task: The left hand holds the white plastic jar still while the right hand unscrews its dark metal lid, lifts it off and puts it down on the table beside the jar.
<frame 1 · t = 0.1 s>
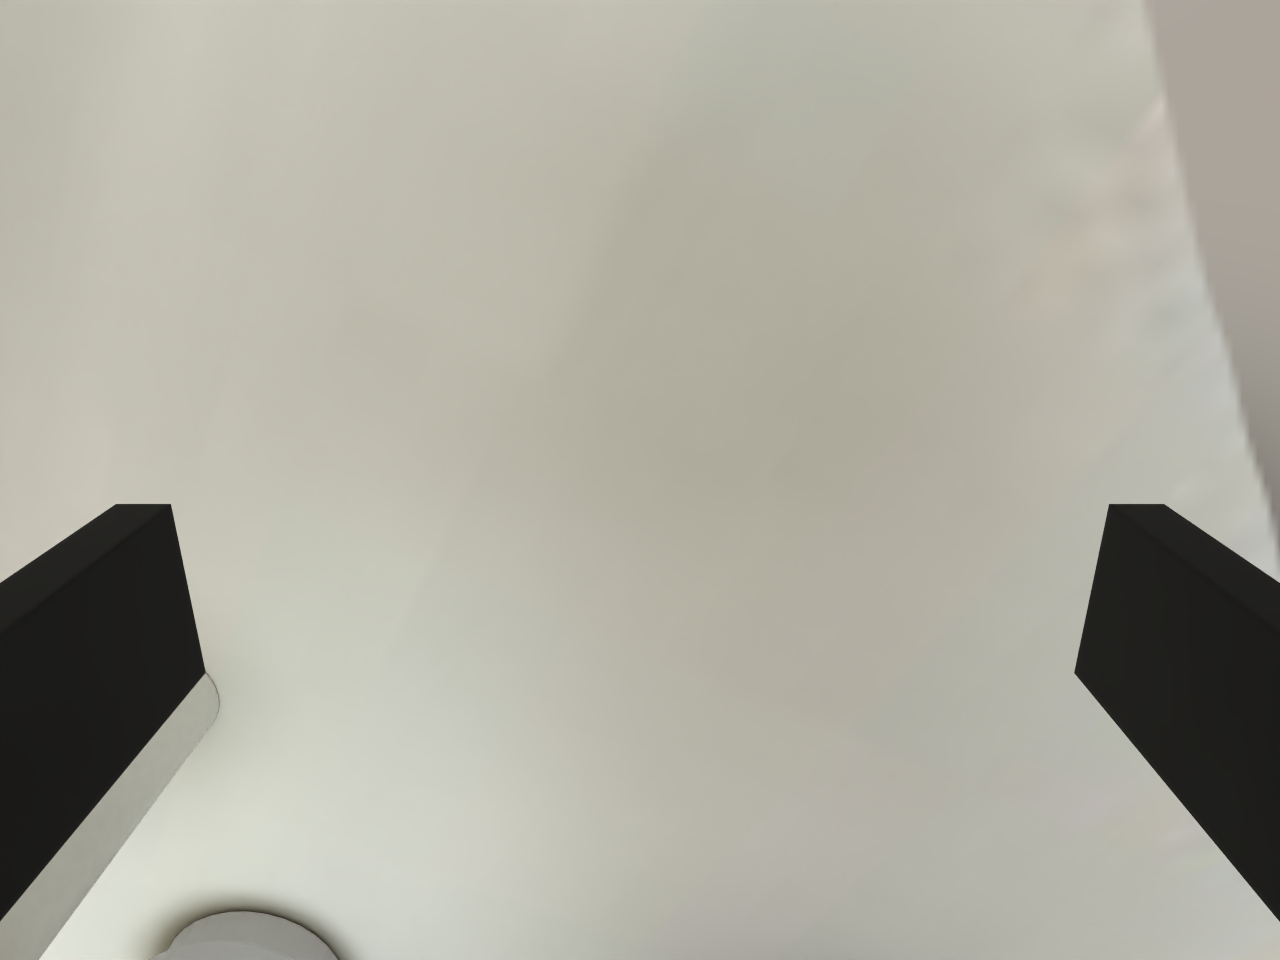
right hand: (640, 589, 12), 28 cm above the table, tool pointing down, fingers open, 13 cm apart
jar: (166, 695, 47), on the table
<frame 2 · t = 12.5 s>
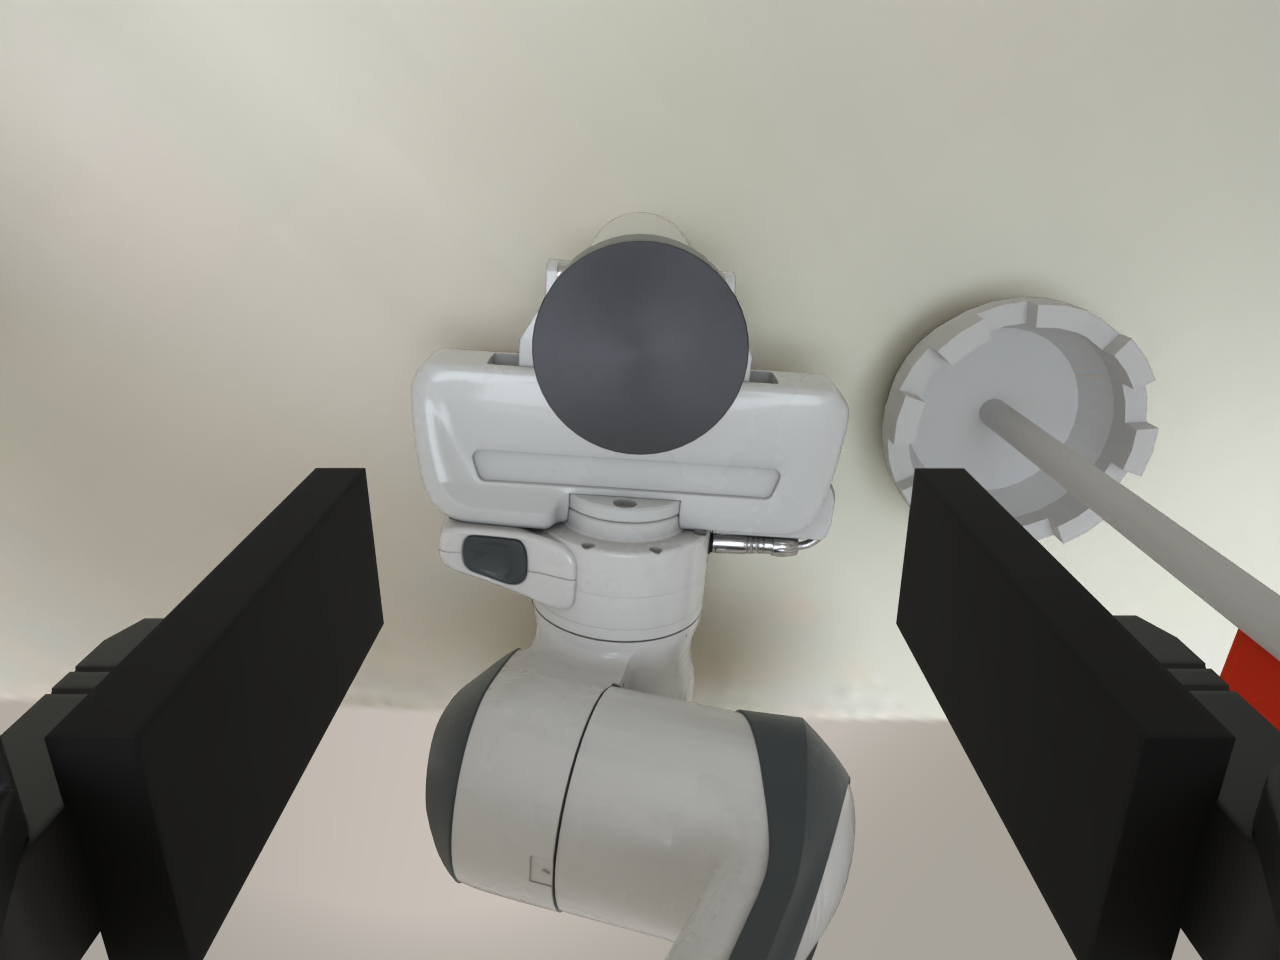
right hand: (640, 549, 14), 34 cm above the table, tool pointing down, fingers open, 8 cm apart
lid: (640, 350, 27), point 20 cm above the table, screwed on, not yet turned
flag stand: (984, 405, 49), on the table
jar: (640, 267, 46), on the table, touching left hand
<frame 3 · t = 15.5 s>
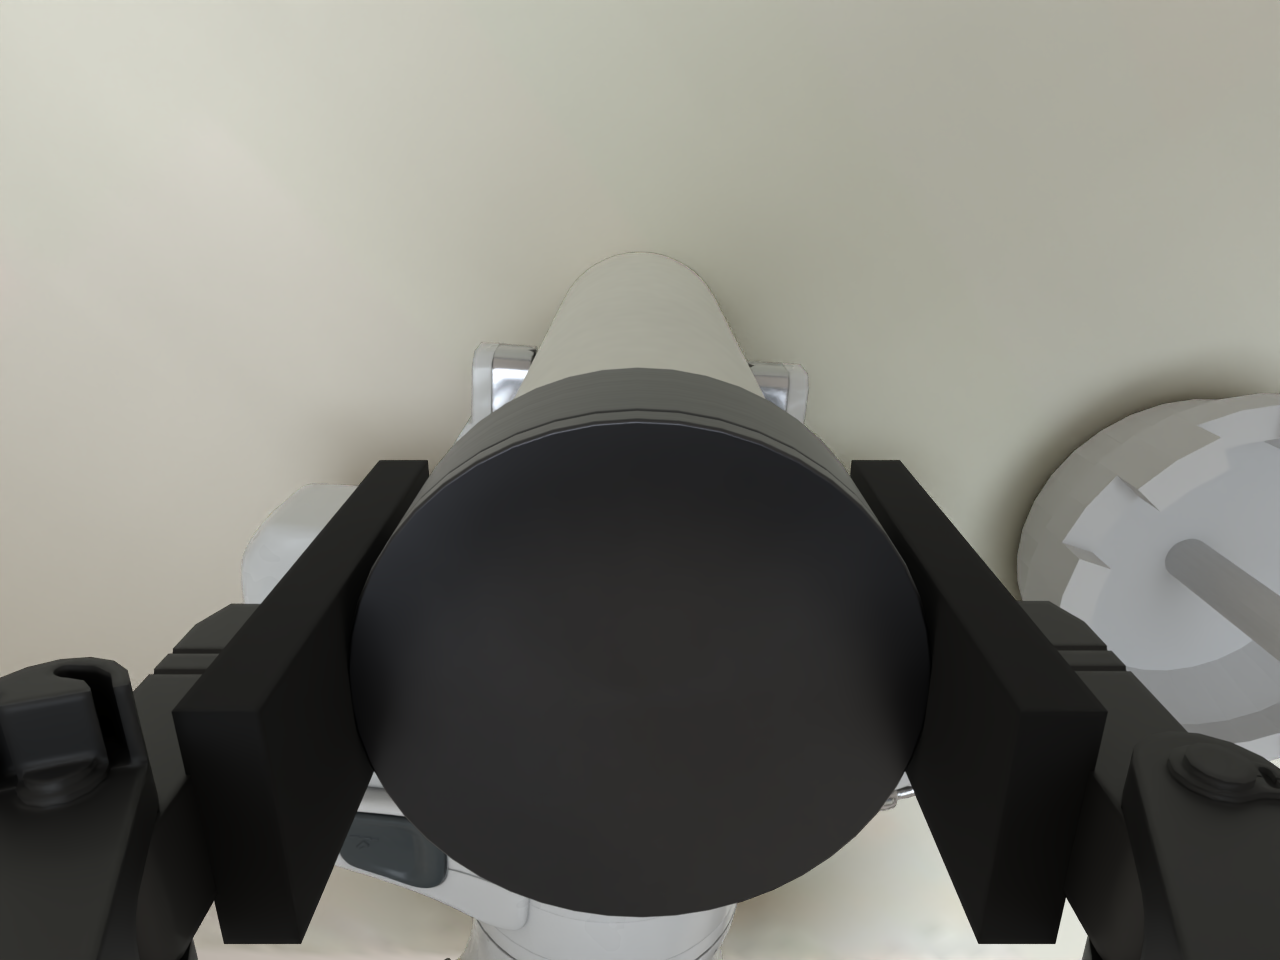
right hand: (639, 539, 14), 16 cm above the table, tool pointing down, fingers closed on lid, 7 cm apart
lid: (639, 681, 10), point 20 cm above the table, screwed on, not yet turned, touching right hand
flag stand: (1167, 543, 32), on the table
jar: (639, 338, 29), on the table, touching left hand
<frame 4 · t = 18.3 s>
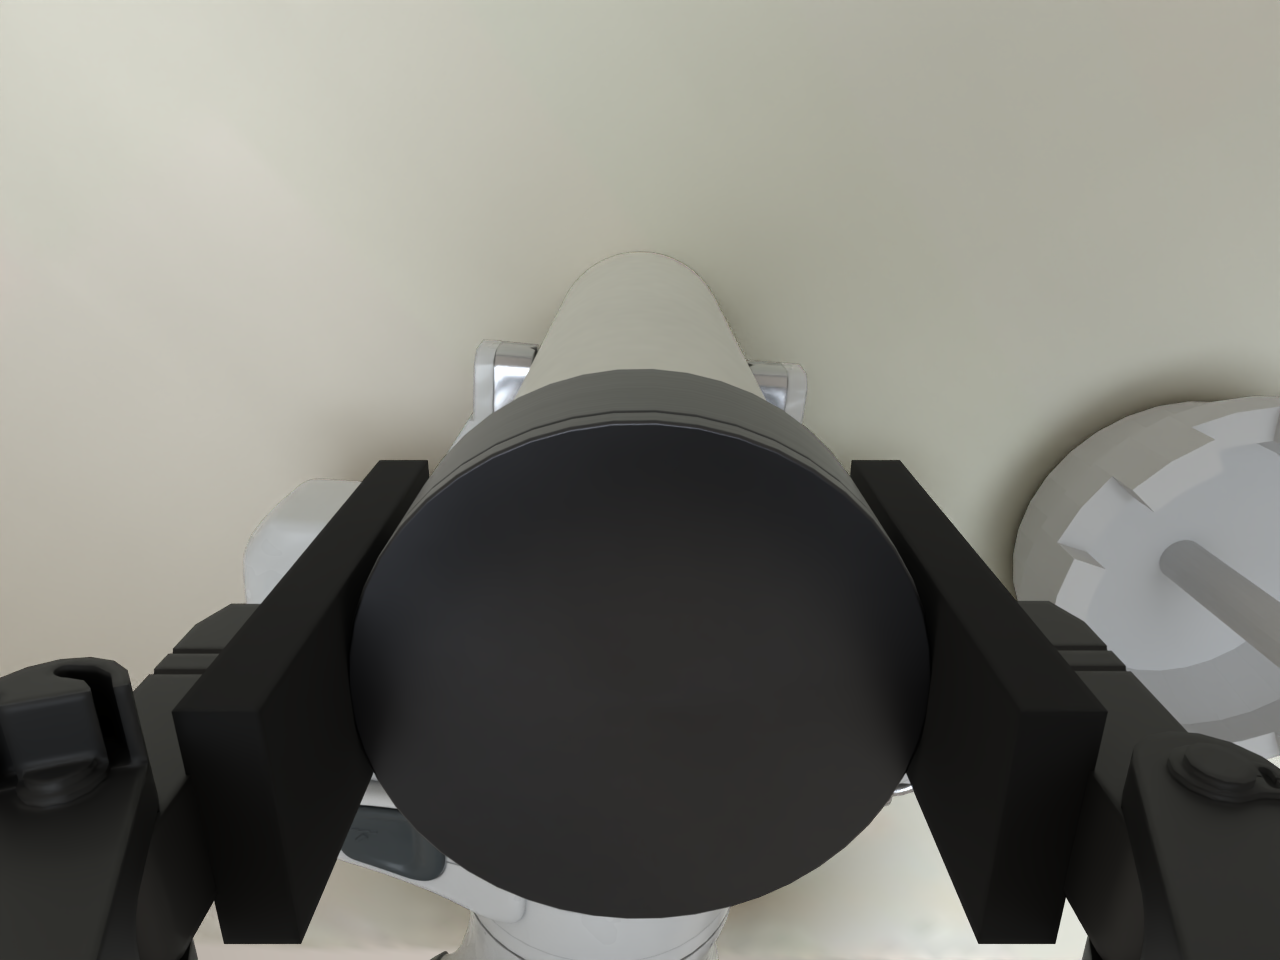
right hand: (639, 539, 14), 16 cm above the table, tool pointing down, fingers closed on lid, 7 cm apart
lid: (639, 682, 10), point 20 cm above the table, turned 72° so far, risen 0.2 cm, still on its thread, touching right hand
flag stand: (1162, 544, 32), on the table
jar: (639, 337, 29), on the table, touching left hand
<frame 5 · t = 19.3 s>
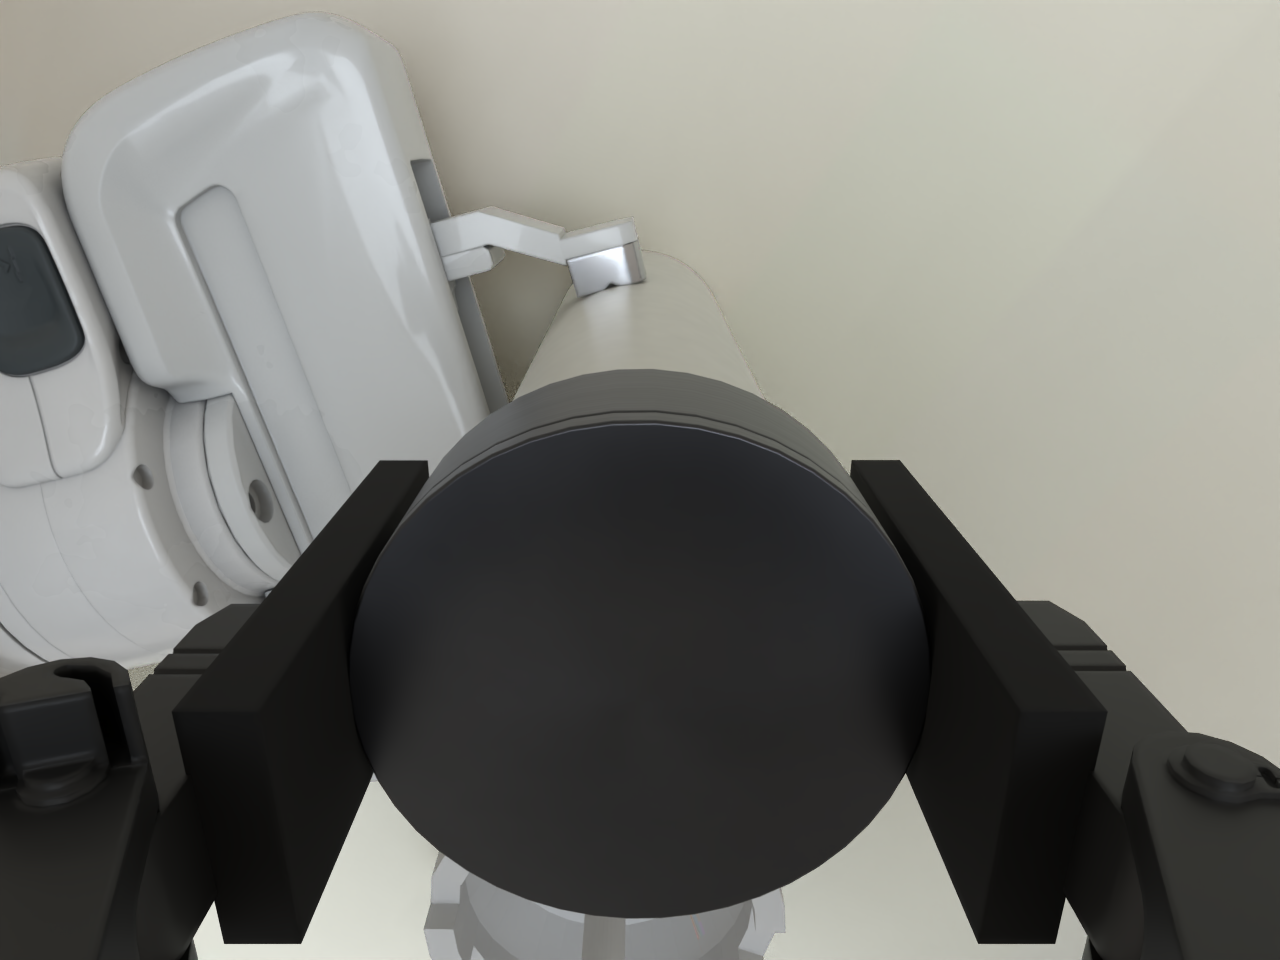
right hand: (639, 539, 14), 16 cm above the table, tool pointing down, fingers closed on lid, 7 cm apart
lid: (639, 682, 10), point 20 cm above the table, off its thread, touching right hand
flag stand: (609, 820, 37), on the table
jar: (639, 335, 29), on the table, touching left hand
when the right hand's fingers open (0 cm above the table, at t = 26.0 s): lid drops 2 cm, point 2 cm above the table.
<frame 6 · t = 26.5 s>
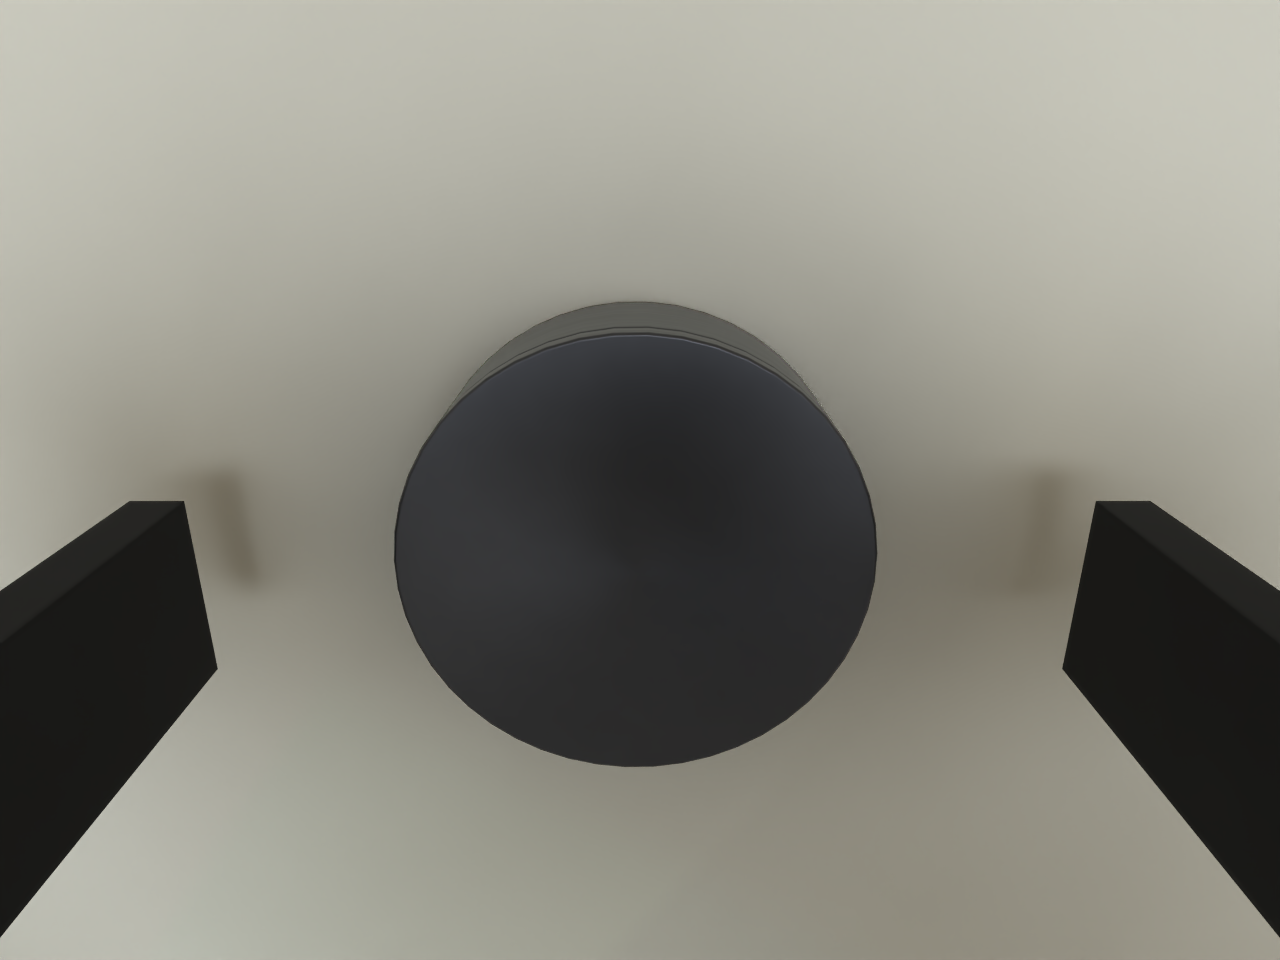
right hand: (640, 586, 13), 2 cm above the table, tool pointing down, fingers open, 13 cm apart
lid: (635, 560, 12), point 2 cm above the table, off its thread
when the left hand's fingers open (7 cm above the table, at t = 27.1 s): jar stays where it is, on the table.
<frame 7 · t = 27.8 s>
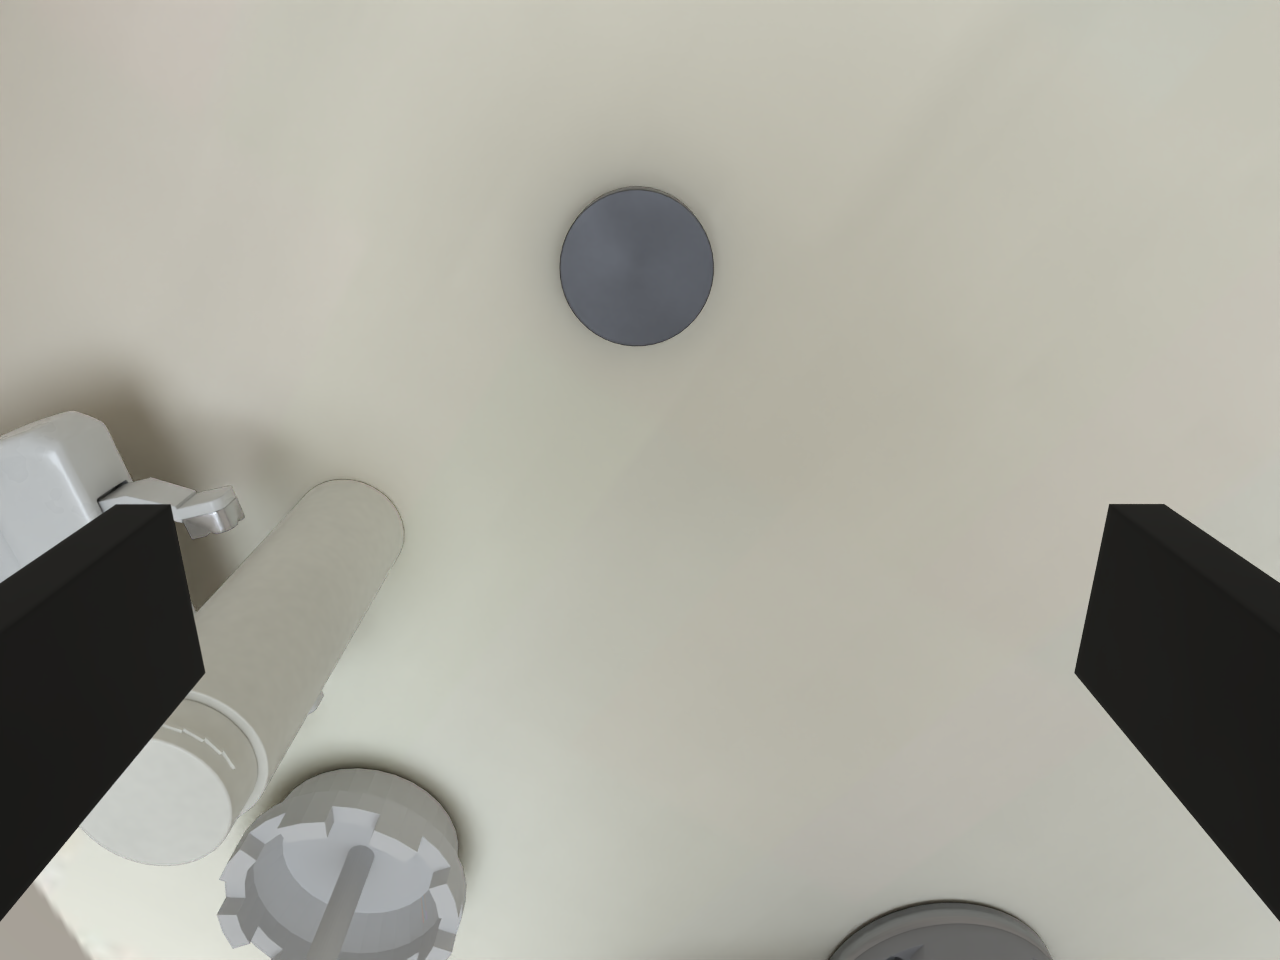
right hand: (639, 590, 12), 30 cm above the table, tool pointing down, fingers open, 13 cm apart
lid: (636, 269, 38), point 2 cm above the table, off its thread
flag stand: (367, 840, 52), on the table
jar: (349, 529, 45), on the table
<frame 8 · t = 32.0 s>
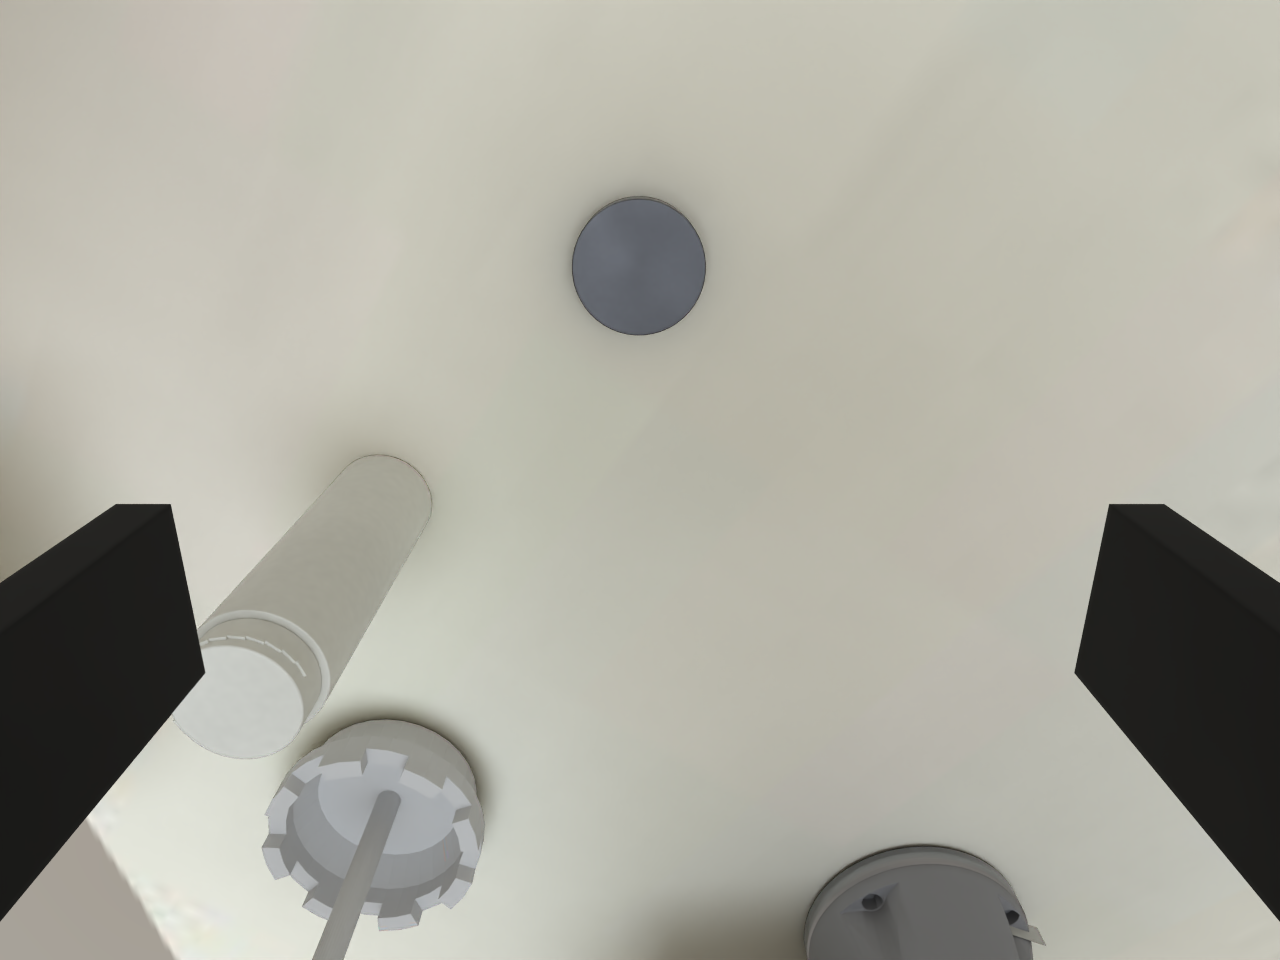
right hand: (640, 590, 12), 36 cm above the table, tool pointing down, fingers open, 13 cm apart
lid: (638, 268, 44), point 2 cm above the table, off its thread
flag stand: (394, 787, 58), on the table
jar: (383, 500, 51), on the table
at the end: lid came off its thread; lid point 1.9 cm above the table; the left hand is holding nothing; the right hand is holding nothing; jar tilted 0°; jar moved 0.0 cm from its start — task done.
